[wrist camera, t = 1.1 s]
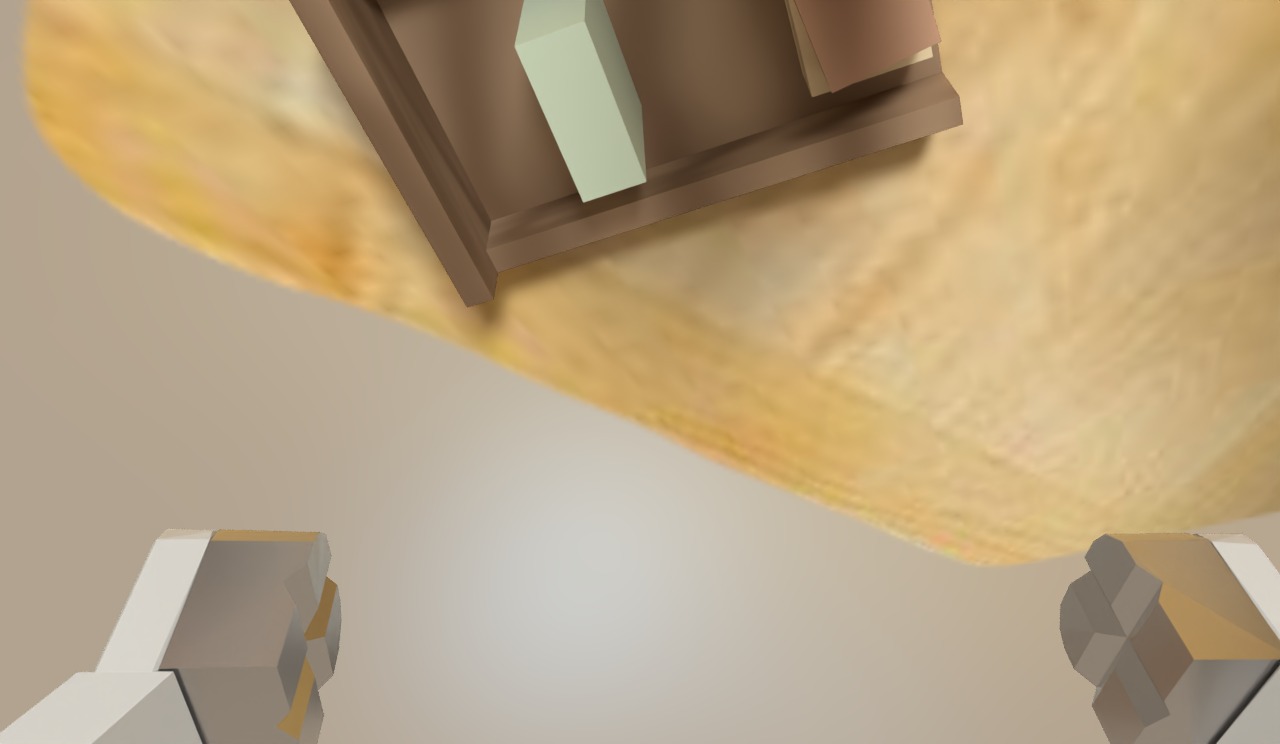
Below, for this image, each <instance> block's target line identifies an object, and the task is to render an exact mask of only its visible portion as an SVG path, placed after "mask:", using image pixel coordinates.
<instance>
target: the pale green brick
mask: <svg viewBox="0 0 1280 744" xmlns="http://www.w3.org/2000/svg"><path fill="white" fill-rule="evenodd" d="M514 47H515V49H516V51H517V54H518V56H519V58H520V60H521V63H522V65H523V67H524V69H525V72H526V74H527V76H528V78H529V81H530V83H531V85H532V87H533V90H534V92H535V94H536V97H537V99H538V101H539V103H540V106H541V108H542V110H543V112H544V115H545V117H546V119H547V121H548V124H549V126H550V128H551V130H552V133H553V135H554V137H555V140H556V142H557V144H558V146H559V149H560V151H561V153H562V155H563V158H564V160H565V162H566V164H567V167H568V169H569V171H570V174H571V176H572V178H573V180H574V183H575V185H576V187H577V189H578V192H579V194H580V196H581V198H582V201H583V203H584V202H587V201H590V200H593V199H596V198H599V197H602V196H605V195H608V194H611V193H614V192H617V191H620V190H623V189H626V188H629V187H633V186H636V185H639V184H642V183H645V182H647V180H646V165H645V150H644V135H643V120H642V105H641V103H640V100H639V97H638V94H637V92H636V89H635V86H634V84H633V81H632V78H631V75H630V73H629V70H628V67H627V65H626V62H625V59H624V56H623V54H622V51H621V48H620V46H619V43H618V40H617V37H616V35H615V32H614V29H613V27H612V24H611V21H610V18H609V16H608V13H607V10H606V8H605V5H604V2H603V0H524V3H523V8H522V12H521V17H520V22H519V27H518V32H517V36H516V41H515V46H514Z"/></svg>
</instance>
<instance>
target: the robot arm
mask: <svg viewBox="0 0 1280 744" xmlns="http://www.w3.org/2000/svg"><path fill="white" fill-rule="evenodd" d="M330 559H331V553H330V549H329V545H328V541H327V537H326V534H324V533H320V532H290V531H253V530H193V529H191V530H190V529H167V530H166V531H165V532H164V533H163V534H162V535H161V536H160V537H159V538H158V539H157V540H156V541H155V542H154V544H153V545H152V548H151V550H150V552H149V554H148V556H147V558H146V561H145V563H144V565H143V567H142V569H141V571H140V573H139V576H138V578H137V580H136V582H135V584H134V586H133V588H132V591H131V593H130V595H129V597H128V599H127V601H126V603H125V606H124V608H123V610H122V612H121V614H120V616H119V619H118V621H117V623H116V625H115V627H114V629H113V631H112V634H111V636H110V638H109V640H108V642H107V644H106V646H105V649H104V651H103V653H102V655H101V657H100V659H99V661H98V663H97V666H96V668H95V670H94V671H92V672H77V673H75V674H74V675H73V676H72V677H70V678H69V679H68V680H66V681H65V682H64V683H63V684H61V685H60V686H59V687H57V689H55V690H54V691H52V692H51V693H50V694H49V695H47V696H46V697H45V698H43V699H42V700H41V701H40V702H38V703H37V704H36V705H35V706H33V707H32V708H31V709H30V710H28V711H27V712H26V713H24V714H23V715H22V716H21V717H19V718H18V719H17V720H16V721H14V722H13V723H12V724H10V725H9V726H8V727H6V728H5V729H4V730H3V731H1V732H0V744H317V742H318V738H319V734H320V730H321V725H322V721H323V717H324V713H323V709H322V705H321V701H320V696H319V692H318V690H319V689H320V688H321V686H323V685H324V684H325V683H326V682H327V681H328V680H329V679H330V678H331V677H332V676H333V674H334V669H335V664H336V660H337V655H338V650H339V640H340V629H341V606H340V597H339V592H338V586H337V584H336V583H334V582H333V581H332V580H330V579H329V578H328V577H327V576H326V575H327V571H328V567H329V563H330ZM1085 559H1086V561H1087V563H1088V565H1089V567H1090V569H1091V571H1089V572H1088V573H1086V574H1085V575H1083V576H1082V577H1080V578H1079V579H1077V580H1076V581H1074V582H1073V583H1071V584H1070V586H1069V588H1068V590H1067V592H1066V594H1065V596H1064V598H1063V601H1062V603H1061V609H1060V631H1061V636H1062V640H1063V644H1064V648H1065V650H1066V652H1067V654H1068V657H1069V659H1070V661H1071V663H1072V665H1073V668H1074V669H1075V670H1076V671H1077V672H1079V673H1080V674H1081V675H1082V676H1084V677H1085V678H1086V679H1087V680H1089V681H1090V682H1091V683H1092V684H1094V685H1095V686H1096V691H1095V695H1094V699H1093V703H1092V707H1093V709H1094V711H1095V713H1096V715H1097V717H1098V719H1099V721H1100V723H1101V725H1102V728H1103V730H1104V731H1105V734H1106V736H1107V738H1108V739H1109V741H1110V744H1280V574H1279V572H1278V571H1277V570H1276V568H1275V567H1274V566H1273V564H1272V563H1271V562H1270V560H1269V559H1268V558H1267V556H1266V555H1265V554H1264V552H1263V551H1262V550H1261V548H1260V547H1259V546H1258V544H1256V543H1255V542H1254V541H1253V540H1251V539H1250V538H1248V537H1247V536H1245V535H1243V534H1189V533H1146V534H1104V535H1103V536H1101V537H1100V538H1098V539H1096V540H1095V541H1093V543H1092V545H1091V547H1090V549H1089V550H1088V552H1087V554H1086V556H1085Z"/></svg>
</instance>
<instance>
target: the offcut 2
mask: <svg viewBox="0 0 1280 744" xmlns="http://www.w3.org/2000/svg"><path fill="white" fill-rule="evenodd" d="M794 3H795V5H796V8H797V10H798V13H799V15H800V18H801V20H802V23H803V25H804V28H805V30H806V33H807V35H808V38H809V40H810V43H811V45H812V48H813V50H814V52H815V55H816V57H817V60H818V62H819V65H820V67H821V70H822V72H823V74H824V76H825V79H826V81H827V83H828V85H829V87H830V90H831V92H832V93H834V92H836V91H838V90H840V89H842V88H845V87H847V86H849V85H851V84H853V83H855V82H857V81H859V80H861V79H863V78H865V77H868V76H870V75H872V74H874V73H876V72H878V71H880V70H882V69H884V68H886V67H889V66H891V65H893V64H895V63H897V62H899V61H901V60H903V59H905V58H907V57H910V56H912V55H914V54H916V53H918V52H920V51H922V50H924V49H926V48H928V47H930V46H933V45H935V44H937V43H939V42H941V38H940V34H939V31H938V28H937V25H936V22H935V18H934V15H933V12H932V9H931V6H930V2H929V0H794Z"/></svg>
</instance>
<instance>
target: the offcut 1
mask: <svg viewBox="0 0 1280 744" xmlns="http://www.w3.org/2000/svg"><path fill="white" fill-rule="evenodd" d="M785 4H786V8H787V12H788V16H789V20H790V24H791V28H792V32H793V36H794V40H795V44H796V49H797V53H798V57H799V61H800V65H801V69H802V73H803V76H804V78H805V81H806V83H807V86H808V88H809V91H810V93H811V96H812V97H815V96H818V95H821V94H824V93H827V92H830V91H831V90H830V87H829V85H828V83H827V81H826V79H825V76H824V74H823V72H822V70H821V67H820V65H819V62H818V60H817V57H816V55H815V52H814V50H813V48H812V45H811V43H810V40H809V38H808V35H807V33H806V30H805V28H804V25H803V23H802V20H801V18H800V15H799V13H798V10H797V8H796V5H795V3H794V0H785ZM931 57H933V54H932V48H931V46H930V47H928V48H926V49H924V50H922V51H920V52H918V53H916V54H914V55H912V56H910V57H907V58H905V59H903V60H901V61H899V62H897V63H895V64H893V65H891V66H889V67H886V68H884V69H882V70H880V71H878V72H876V73H874V74H872V75H870V76H868V77H865V78H863V79H861V80H859V81H862V80H865V79H868V78H871V77H874V76H877V75H880V74H883V73H886V72H889V71H892V70H895V69H898V68H901V67H904V66H907V65H910V64H913V63H916V62H919V61H922V60H925V59H928V58H931ZM859 81H857V82H859ZM855 83H856V82H855Z"/></svg>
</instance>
